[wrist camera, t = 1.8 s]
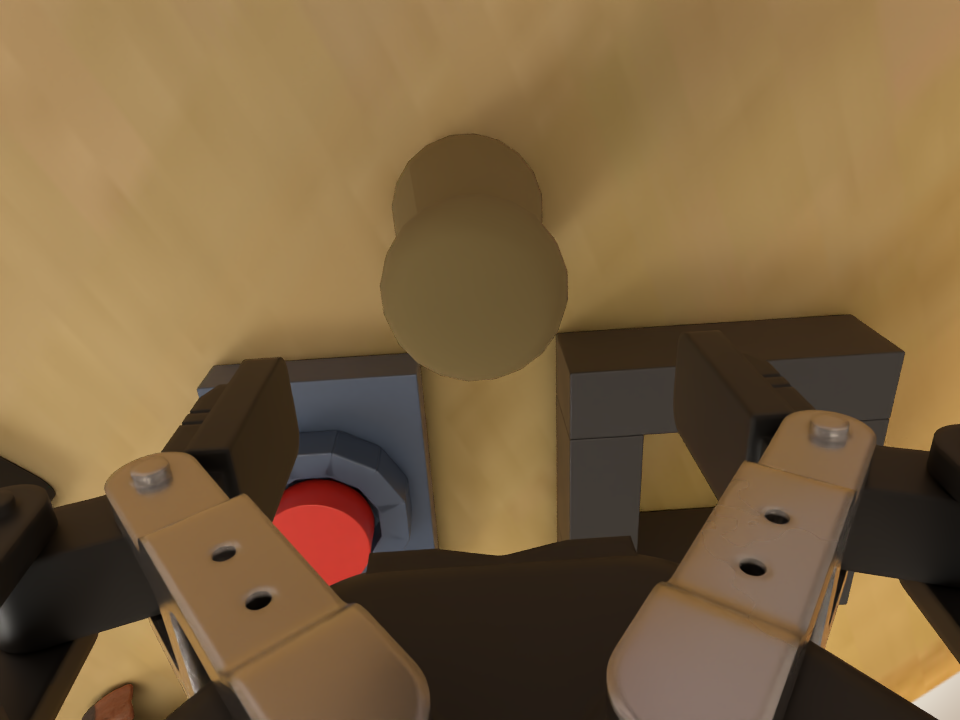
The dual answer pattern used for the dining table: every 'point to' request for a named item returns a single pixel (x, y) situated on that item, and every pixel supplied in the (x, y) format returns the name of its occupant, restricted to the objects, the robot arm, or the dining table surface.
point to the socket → (649, 410)
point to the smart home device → (20, 477)
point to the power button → (327, 527)
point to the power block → (364, 439)
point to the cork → (472, 261)
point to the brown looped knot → (113, 706)
